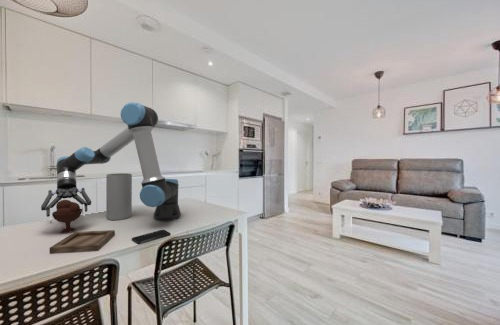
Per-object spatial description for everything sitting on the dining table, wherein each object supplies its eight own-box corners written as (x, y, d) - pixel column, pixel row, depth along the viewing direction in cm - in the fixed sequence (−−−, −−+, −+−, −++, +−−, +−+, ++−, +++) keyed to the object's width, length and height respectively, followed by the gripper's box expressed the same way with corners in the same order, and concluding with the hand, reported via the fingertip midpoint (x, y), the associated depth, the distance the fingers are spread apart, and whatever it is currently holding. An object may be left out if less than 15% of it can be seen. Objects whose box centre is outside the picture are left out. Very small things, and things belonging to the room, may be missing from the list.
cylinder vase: (119, 213, 132) (120, 172, 130) (136, 215, 128) (136, 174, 127) (100, 219, 120) (100, 174, 118) (118, 221, 116) (118, 176, 115)
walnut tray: (114, 234, 98) (114, 230, 98) (97, 250, 83) (97, 245, 83) (75, 236, 95) (75, 231, 95) (49, 253, 79) (49, 247, 79)
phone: (171, 233, 100) (138, 243, 89) (171, 235, 100) (138, 245, 89) (163, 229, 105) (130, 237, 94) (163, 231, 105) (130, 240, 94)
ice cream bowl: (62, 236, 94) (62, 203, 94) (47, 232, 98) (46, 200, 97) (87, 229, 104) (87, 198, 104) (73, 225, 108) (72, 196, 107)
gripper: (94, 184, 120) (98, 219, 109) (35, 188, 104) (32, 228, 93) (95, 176, 115) (99, 211, 105) (34, 179, 100) (31, 220, 89)
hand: (68, 219), depth 99 cm, fingers closed on ice cream bowl, 11 cm apart
